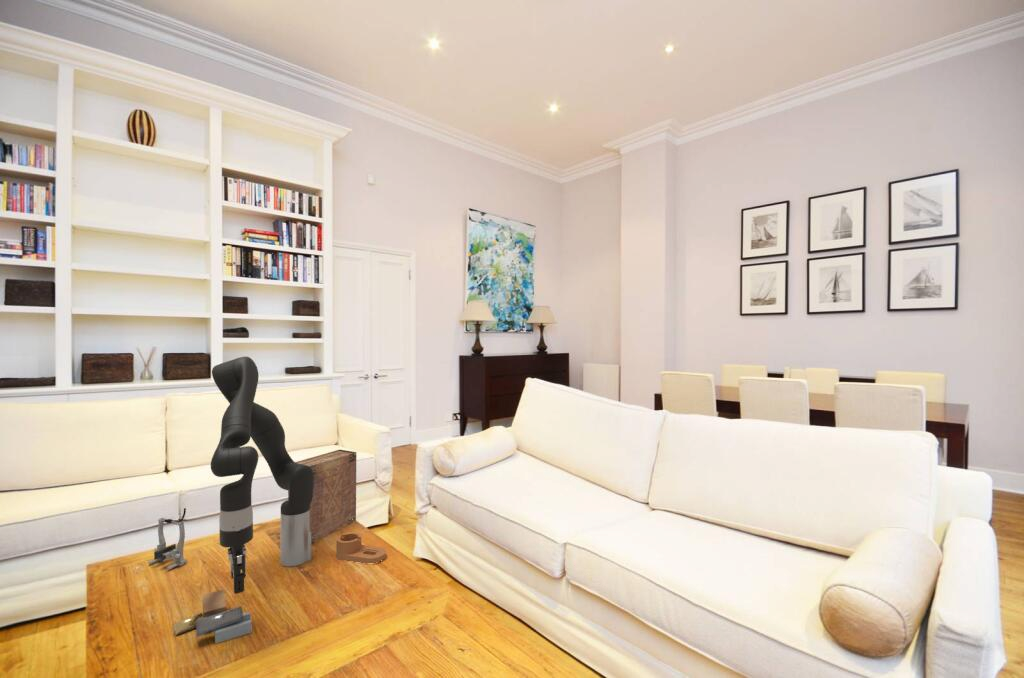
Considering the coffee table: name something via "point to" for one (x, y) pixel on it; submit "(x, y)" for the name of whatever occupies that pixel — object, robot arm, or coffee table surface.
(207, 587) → the coffee table surface
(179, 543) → the bike brake
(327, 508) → the book
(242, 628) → the cradle
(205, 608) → the beam
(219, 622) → the axle
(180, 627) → the cylinder
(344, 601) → the coffee table surface
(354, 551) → the bracket
